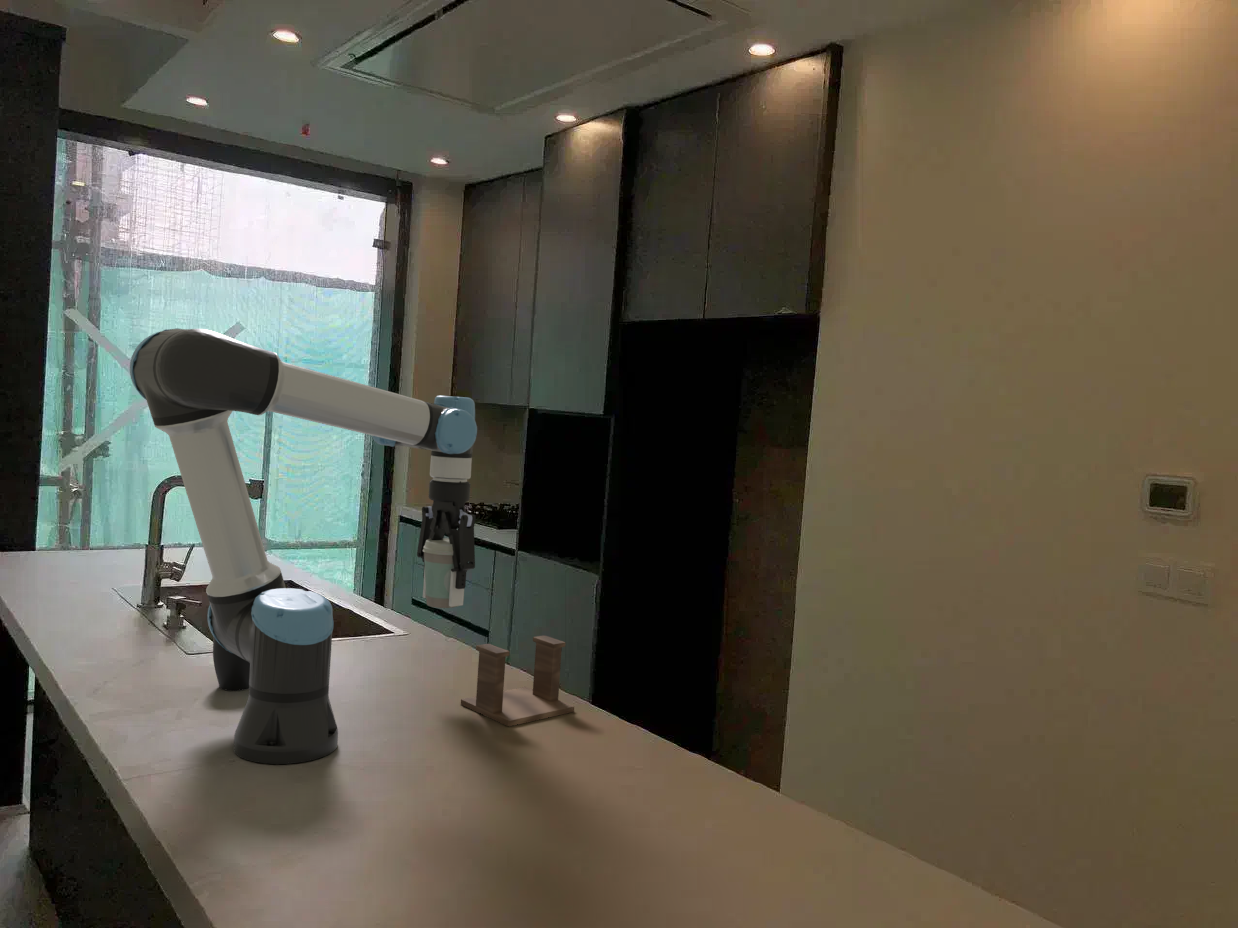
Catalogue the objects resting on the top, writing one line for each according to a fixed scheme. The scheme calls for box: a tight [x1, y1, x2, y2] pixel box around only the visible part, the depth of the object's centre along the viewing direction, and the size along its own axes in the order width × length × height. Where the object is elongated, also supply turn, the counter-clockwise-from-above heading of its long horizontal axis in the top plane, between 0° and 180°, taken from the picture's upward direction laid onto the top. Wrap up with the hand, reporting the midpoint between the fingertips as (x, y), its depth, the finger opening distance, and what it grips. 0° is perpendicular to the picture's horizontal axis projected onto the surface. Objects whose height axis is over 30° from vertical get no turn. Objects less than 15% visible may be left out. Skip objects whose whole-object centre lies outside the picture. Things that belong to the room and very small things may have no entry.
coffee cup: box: [423, 537, 460, 609], centre depth 182 cm, size 8×8×12 cm
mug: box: [212, 636, 250, 692], centre depth 179 cm, size 8×12×10 cm
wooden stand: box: [460, 634, 575, 727], centre depth 176 cm, size 16×14×12 cm
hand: (442, 601), depth 182 cm, fingers closed on coffee cup, 8 cm apart
